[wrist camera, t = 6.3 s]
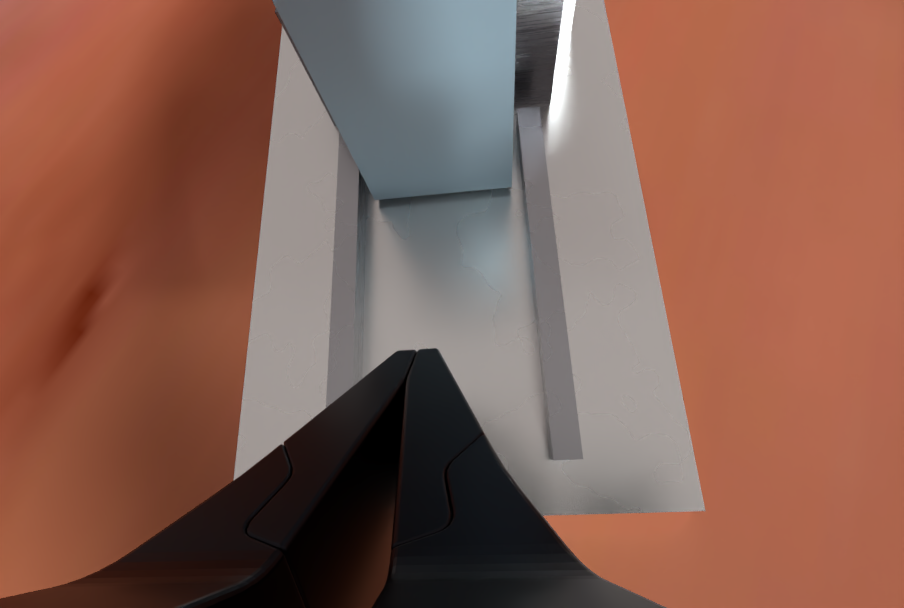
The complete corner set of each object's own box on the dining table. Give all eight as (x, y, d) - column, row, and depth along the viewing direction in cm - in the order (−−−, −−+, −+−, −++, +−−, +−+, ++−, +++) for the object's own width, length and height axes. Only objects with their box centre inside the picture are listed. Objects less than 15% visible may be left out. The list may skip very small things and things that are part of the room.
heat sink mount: (688, 505, 14) (880, 561, 7) (249, 518, 15) (26, 576, 8) (584, -48, 21) (622, -292, 14) (299, -8, 23) (207, -213, 16)
